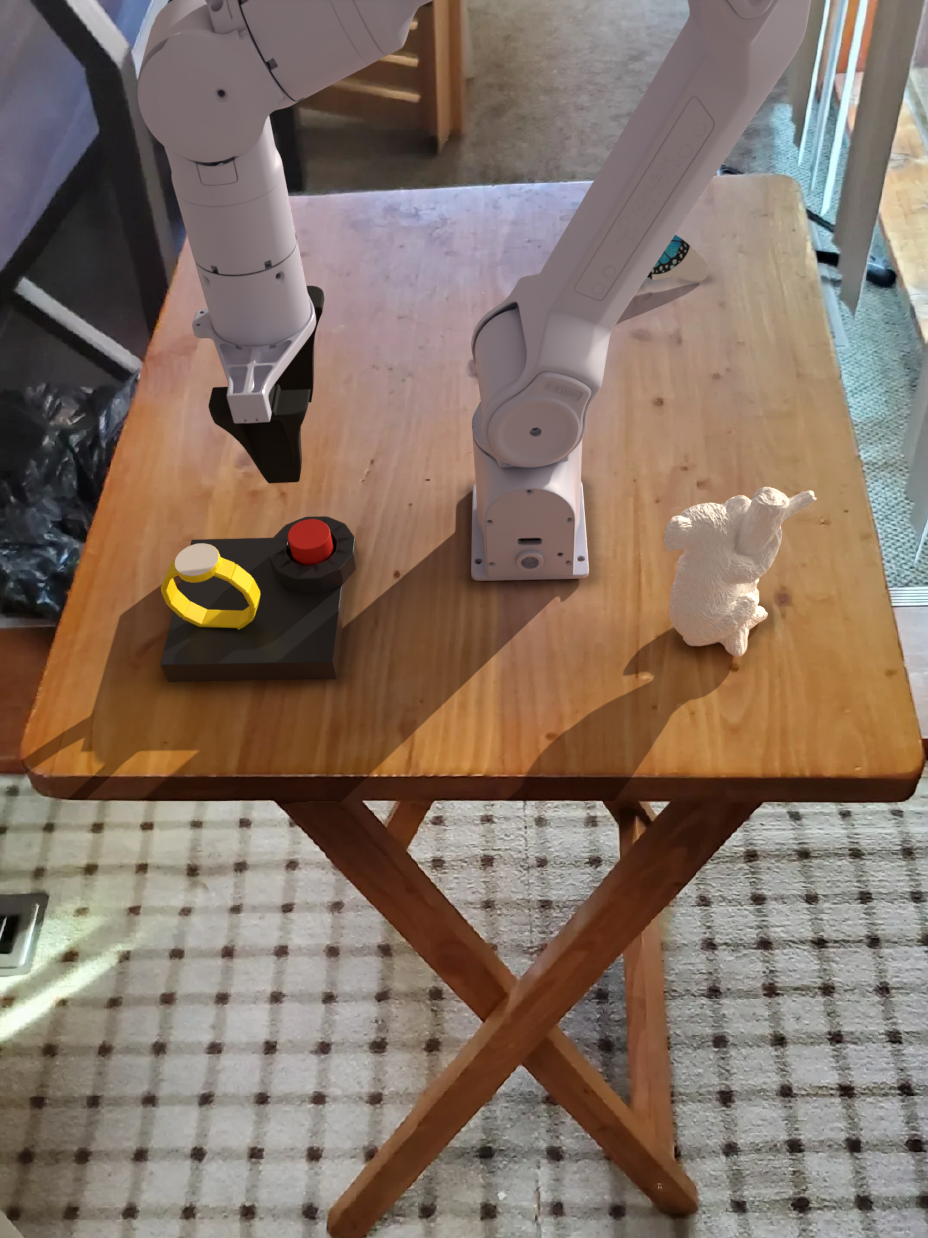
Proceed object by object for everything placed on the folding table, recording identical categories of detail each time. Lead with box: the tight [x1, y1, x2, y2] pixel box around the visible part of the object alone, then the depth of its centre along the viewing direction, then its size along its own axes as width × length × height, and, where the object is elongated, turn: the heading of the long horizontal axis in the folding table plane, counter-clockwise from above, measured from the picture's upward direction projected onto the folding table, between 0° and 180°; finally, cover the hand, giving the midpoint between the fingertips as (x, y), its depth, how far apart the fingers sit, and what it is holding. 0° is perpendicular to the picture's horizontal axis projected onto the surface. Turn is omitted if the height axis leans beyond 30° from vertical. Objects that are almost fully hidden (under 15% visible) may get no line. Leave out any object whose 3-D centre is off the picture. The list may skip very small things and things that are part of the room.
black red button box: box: [160, 515, 359, 683], centre depth 71 cm, size 11×12×4 cm
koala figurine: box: [663, 486, 817, 658], centre depth 65 cm, size 8×7×12 cm
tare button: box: [288, 519, 333, 565], centre depth 71 cm, size 3×3×2 cm
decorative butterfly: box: [647, 234, 709, 282], centre depth 96 cm, size 10×6×10 cm
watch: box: [160, 543, 261, 630], centre depth 68 cm, size 6×3×6 cm, turn 81°
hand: (290, 438), depth 69 cm, fingers open, 7 cm apart
